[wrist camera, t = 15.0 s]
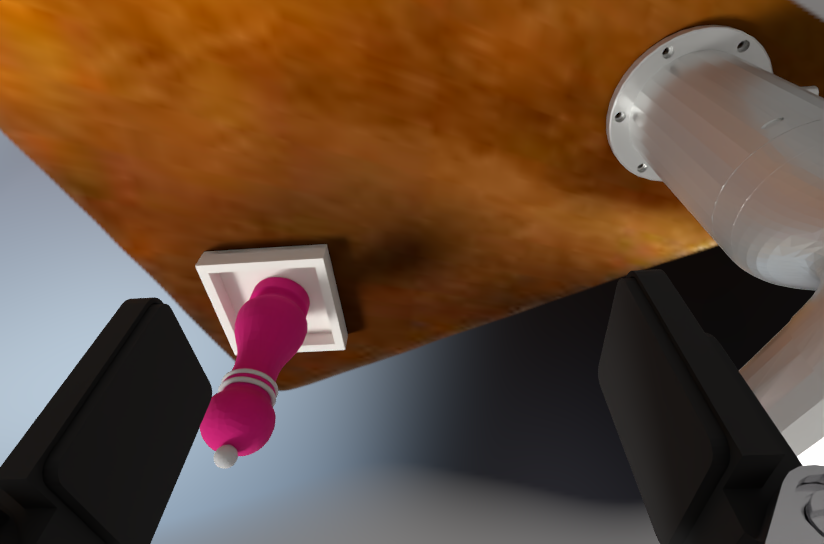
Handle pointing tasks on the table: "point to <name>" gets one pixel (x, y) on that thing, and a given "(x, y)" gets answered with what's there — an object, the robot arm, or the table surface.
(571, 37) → the table surface
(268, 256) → the ceramic dish
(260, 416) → the pepper mill
